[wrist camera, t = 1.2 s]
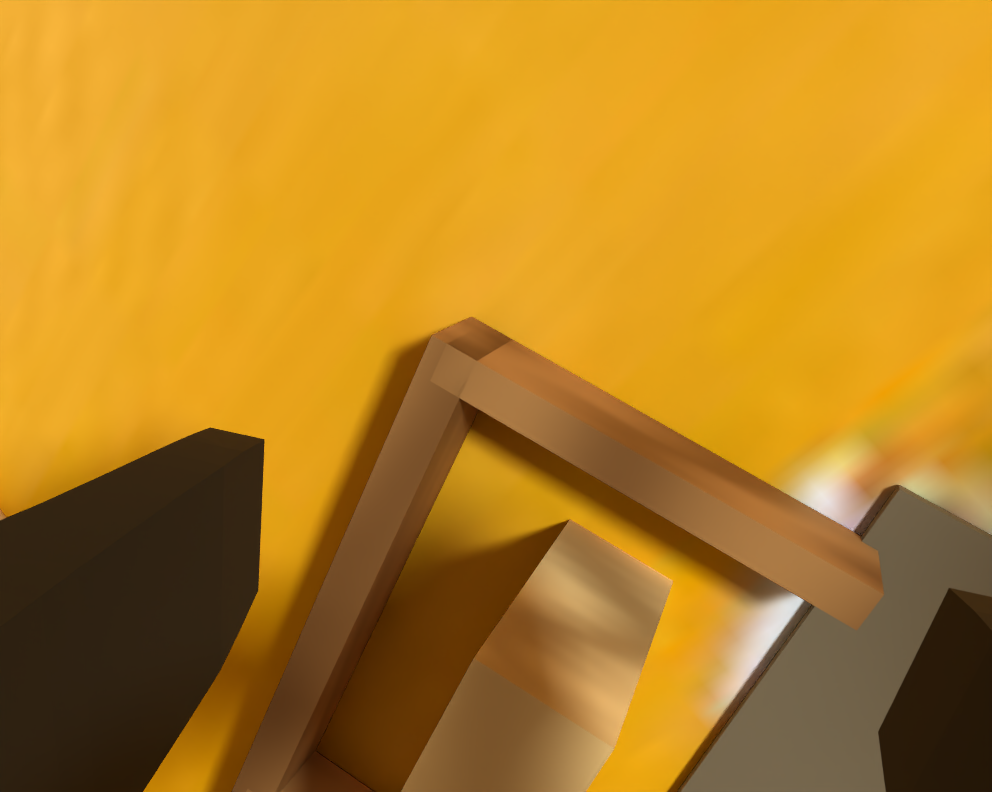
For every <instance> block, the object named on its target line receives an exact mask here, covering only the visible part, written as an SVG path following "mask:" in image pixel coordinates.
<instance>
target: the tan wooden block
mask: <svg viewBox="0 0 992 792" xmlns="http://www.w3.org/2000/svg"><path fill="white" fill-rule="evenodd" d="M672 583H673V581H672V580H670V579H669V578H667V577H665V576H664V575H662V574H660V573H659V572H657V571H655V570H654V569H652V568H650V567H649V566H647V565H645V564H644V563H642V562H640V561H639V560H637V559H635V558H634V557H632V556H630V555H629V554H627V553H625V552H624V551H622V550H620V549H619V548H617V547H615V546H614V545H612V544H610V543H609V542H607V541H605V540H604V539H602V538H600V537H599V536H597V535H595V534H594V533H592V532H590V531H589V530H587V529H585V528H584V527H582V526H580V525H579V524H577V523H575V522H574V521H572V520H569V521H568V523H567V524H566V526H565V527H564V529H563V530H562V532H561V533H560V534H559V536H558V537H557V539H556V540H555V542H554V543H553V545H552V546H551V547H550V549H549V550H548V552H547V553H546V555H545V556H544V558H543V559H542V560H541V562H540V563H539V565H538V566H537V568H536V569H535V570H534V572H533V573H532V575H531V576H530V578H529V579H528V581H527V582H526V583H525V585H524V586H523V588H522V589H521V591H520V592H519V594H518V595H517V596H516V598H515V599H514V601H513V602H512V604H511V605H510V607H509V608H508V609H507V611H506V612H505V614H504V615H503V617H502V618H501V619H500V621H499V622H498V624H497V625H496V627H495V628H494V630H493V631H492V632H491V634H490V635H489V637H488V638H487V640H486V641H485V643H484V644H483V645H482V647H481V648H480V650H479V651H478V653H477V654H476V655H475V657H474V658H473V660H472V662H471V664H470V666H469V668H468V669H467V671H466V673H465V675H464V677H463V679H462V680H461V682H460V684H459V686H458V688H457V690H456V691H455V693H454V695H453V697H452V699H451V701H450V702H449V704H448V706H447V708H446V710H445V712H444V713H443V715H442V717H441V719H440V721H439V723H438V724H437V726H436V728H435V730H434V732H433V734H432V735H431V737H430V739H429V741H428V743H427V745H426V746H425V748H424V750H423V752H422V754H421V756H420V757H419V759H418V761H417V763H416V765H415V767H414V768H413V770H412V772H411V774H410V776H409V778H408V779H407V781H406V783H405V785H404V787H403V788H402V790H401V792H586V790H587V789H588V787H589V786H590V784H591V783H592V781H593V780H594V778H595V777H596V775H597V774H598V772H599V771H600V769H601V768H602V766H603V765H604V763H605V762H606V760H607V759H608V757H609V756H610V754H611V753H612V751H613V750H614V748H615V745H616V742H617V739H618V737H619V734H620V731H621V728H622V725H623V722H624V719H625V717H626V714H627V711H628V708H629V705H630V702H631V700H632V697H633V694H634V691H635V688H636V685H637V683H638V680H639V677H640V674H641V671H642V668H643V666H644V663H645V660H646V657H647V654H648V651H649V648H650V646H651V643H652V640H653V637H654V634H655V631H656V629H657V626H658V623H659V620H660V617H661V614H662V612H663V609H664V606H665V603H666V600H667V597H668V595H669V592H670V589H671V586H672Z"/></svg>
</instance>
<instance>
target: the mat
mask: <svg viewBox="0 0 992 792" xmlns="http://www.w3.org/2000/svg"><path fill="white" fill-rule="evenodd" d="M861 539H862V542H863V543H865V544H867V545H869V546H870V547H872V548H874V549H876V550H878V554H879V561H880V568H881V576H882V583H883V590H884V595H883V597H882V598H881V599H880V601H879V602H878V603H877V605H876V606H875V607H874V609H873V610H872V611H871V613H870V614H869V615H868V617H867V618H866V619H865V621H864V622H863V623H862V624H861V626H860V627H859V628H858V630H855V629H853V628H851V627H850V626H848V625H846V624H845V623H843V622H841V621H839V620H838V619H836V618H834V617H833V616H831V615H829V614H828V613H826V612H824V611H822V610H821V609H819V608H817V607H816V606H814V605H811V607H810V608H809V610H808V611H807V612H806V614H805V615H804V616H803V618H802V619H801V621H800V622H799V623H798V625H797V626H796V628H795V629H794V630H793V632H792V633H791V634H790V636H789V637H788V639H787V640H786V641H785V643H784V644H783V646H782V647H781V648H780V650H779V651H778V652H777V654H776V655H775V657H774V658H773V659H772V661H771V662H770V664H769V665H768V666H767V668H766V669H765V670H764V672H763V673H762V675H761V676H760V677H759V679H758V680H757V682H756V683H755V684H754V686H753V687H752V689H751V690H750V691H749V693H748V694H747V695H746V697H745V698H744V700H743V701H742V702H741V704H740V705H739V707H738V708H737V709H736V711H735V712H734V713H733V715H732V716H731V718H730V719H729V720H728V722H727V723H726V725H725V726H724V727H723V729H722V730H721V731H720V733H719V734H718V736H717V737H716V738H715V740H714V741H713V743H712V744H711V745H710V747H709V748H708V749H707V751H706V752H705V754H704V755H703V756H702V758H701V759H700V761H699V762H698V763H697V765H696V766H695V767H694V769H693V770H692V772H691V773H690V774H689V776H688V777H687V779H686V780H685V781H684V783H683V784H682V786H681V787H680V788H679V790H678V791H677V792H886V789H885V783H884V775H883V767H882V759H881V751H880V744H879V736H878V731H879V729H880V727H881V725H882V723H883V721H884V719H885V717H886V715H887V713H888V710H889V708H890V706H891V704H892V702H893V700H894V698H895V696H896V694H897V692H898V690H899V688H900V686H901V684H902V682H903V680H904V678H905V676H906V674H907V672H908V670H909V668H910V666H911V664H912V662H913V660H914V658H915V656H916V654H917V652H918V650H919V648H920V646H921V644H922V642H923V639H924V637H925V635H926V633H927V631H928V629H929V627H930V625H931V623H932V621H933V619H934V617H935V615H936V613H937V611H938V609H939V607H940V605H941V603H942V601H943V599H944V597H945V595H946V593H947V591H948V589H949V588H953V589H957V590H962V591H967V592H971V593H976V594H980V595H985V596H990V597H992V535H990V534H988V533H986V532H984V531H982V530H981V529H979V528H977V527H975V526H973V525H972V524H970V523H968V522H966V521H964V520H962V519H961V518H959V517H957V516H955V515H953V514H951V513H950V512H948V511H946V510H944V509H942V508H941V507H939V506H937V505H935V504H933V503H931V502H930V501H928V500H926V499H924V498H922V497H920V496H919V495H917V494H915V493H913V492H911V491H910V490H908V489H906V488H904V487H902V486H900V485H898V486H897V488H896V489H895V490H894V492H893V493H892V494H891V496H890V497H889V499H888V500H887V501H886V503H885V504H884V506H883V507H882V508H881V510H880V511H879V512H878V514H877V515H876V517H875V518H874V519H873V521H872V522H871V524H870V525H869V526H868V528H867V529H866V531H865V532H864V533H863V535H862V536H861Z"/></svg>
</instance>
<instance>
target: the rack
mask: <svg viewBox="0 0 992 792" xmlns="http://www.w3.org/2000/svg"><path fill="white" fill-rule="evenodd" d="M479 410H481V411H482V412H484V413H486V414H487V415H489V416H491V417H493V418H494V419H496V420H498V421H499V422H501V423H503V424H505V425H506V426H508V427H510V428H511V429H513V430H515V431H517V432H518V433H520V434H522V435H523V436H525V437H527V438H528V439H530V440H532V441H534V442H535V443H537V444H539V445H540V446H542V447H544V448H546V449H547V450H549V451H551V452H552V453H554V454H556V455H558V456H559V457H561V458H563V459H564V460H566V461H568V462H569V463H571V464H573V465H575V466H576V467H578V468H580V469H581V470H583V471H585V472H587V473H588V474H590V475H592V476H593V477H595V478H597V479H599V480H600V481H602V482H604V483H605V484H607V485H609V486H610V487H612V488H614V489H616V490H617V491H619V492H621V493H622V494H624V495H626V496H628V497H629V498H631V499H633V500H634V501H636V502H638V503H640V504H641V505H643V506H645V507H646V508H648V509H650V510H652V511H653V512H655V513H657V514H658V515H660V516H662V517H663V518H665V519H667V520H669V521H670V522H672V523H674V524H675V525H677V526H679V527H681V528H682V529H684V530H686V531H687V532H689V533H691V534H693V535H694V536H696V537H698V538H699V539H701V540H703V541H704V542H706V543H708V544H710V545H711V546H713V547H715V548H716V549H718V550H720V551H722V552H723V553H725V554H727V555H728V556H730V557H732V558H734V559H735V560H737V561H739V562H740V563H742V564H744V565H745V566H747V567H749V568H751V569H752V570H754V571H756V572H757V573H759V574H761V575H763V576H764V577H766V578H768V579H769V580H771V581H773V582H775V583H776V584H778V585H780V586H781V587H783V588H785V589H786V590H788V591H790V592H792V593H793V594H795V595H797V596H798V597H800V598H802V599H804V600H805V601H807V602H809V603H810V604H812V605H814V606H816V607H817V608H819V609H821V610H822V611H824V612H826V613H828V614H829V615H831V616H833V617H834V618H836V619H838V620H839V621H841V622H843V623H845V624H846V625H848V626H850V627H851V628H853V629H855V630H858V628H859V627H860V626H861V624H862V623H863V622H864V621H865V619H866V618H867V617H868V615H869V614H870V613H871V611H872V610H873V609H874V607H875V606H876V605H877V603H878V602H879V601H880V599H881V598H882V597H883V595H884V590H883V583H882V576H881V568H880V561H879V554H878V550H876V549H874V548H872V547H870V546H869V545H867V544H865V543H863V542H862V539H861V536H860V535H858V534H856V533H854V532H853V531H851V530H849V529H847V528H845V527H844V526H842V525H840V524H838V523H837V522H835V521H833V520H831V519H829V518H828V517H826V516H824V515H822V514H821V513H819V512H817V511H815V510H814V509H812V508H810V507H808V506H806V505H805V504H803V503H801V502H799V501H798V500H796V499H794V498H792V497H790V496H789V495H787V494H785V493H783V492H782V491H780V490H778V489H776V488H775V487H773V486H771V485H769V484H767V483H766V482H764V481H762V480H760V479H759V478H757V477H755V476H753V475H751V474H750V473H748V472H746V471H744V470H743V469H741V468H739V467H737V466H736V465H734V464H732V463H730V462H728V461H727V460H725V459H723V458H721V457H720V456H718V455H716V454H714V453H712V452H711V451H709V450H707V449H705V448H704V447H702V446H700V445H698V444H697V443H695V442H693V441H691V440H689V439H688V438H686V437H684V436H682V435H681V434H679V433H677V432H675V431H673V430H672V429H670V428H668V427H666V426H665V425H663V424H661V423H659V422H658V421H656V420H654V419H652V418H650V417H649V416H647V415H645V414H643V413H642V412H640V411H638V410H636V409H634V408H633V407H631V406H629V405H627V404H626V403H624V402H622V401H620V400H619V399H617V398H615V397H613V396H611V395H610V394H608V393H606V392H604V391H603V390H601V389H599V388H597V387H595V386H594V385H592V384H590V383H588V382H587V381H585V380H583V379H581V378H580V377H578V376H576V375H574V374H572V373H571V372H569V371H567V370H565V369H564V368H562V367H560V366H558V365H557V364H555V363H553V362H551V361H549V360H548V359H546V358H544V357H542V356H541V355H539V354H537V353H535V352H533V351H532V350H530V349H528V348H526V347H525V346H523V345H521V344H519V343H518V342H516V341H514V340H512V339H510V338H509V337H507V336H505V335H503V334H502V333H500V332H498V331H496V330H494V329H493V328H491V327H489V326H487V325H486V324H484V323H482V322H480V321H479V320H477V319H475V318H473V317H470V318H468V319H466V320H463V321H461V322H459V323H457V324H455V325H453V326H451V327H448V328H446V329H444V330H442V331H440V332H438V333H435V334H433V335H432V336H431V338H430V341H429V343H428V345H427V348H426V350H425V352H424V354H423V357H422V359H421V361H420V363H419V366H418V368H417V370H416V373H415V375H414V377H413V379H412V382H411V384H410V386H409V389H408V391H407V393H406V395H405V398H404V400H403V402H402V404H401V407H400V409H399V411H398V414H397V416H396V418H395V420H394V423H393V425H392V427H391V430H390V432H389V434H388V436H387V439H386V441H385V443H384V446H383V448H382V450H381V452H380V455H379V457H378V459H377V461H376V464H375V466H374V468H373V471H372V473H371V475H370V477H369V480H368V482H367V484H366V487H365V489H364V491H363V493H362V496H361V498H360V500H359V503H358V505H357V507H356V509H355V512H354V514H353V516H352V518H351V521H350V523H349V525H348V528H347V530H346V532H345V534H344V537H343V539H342V541H341V544H340V546H339V548H338V550H337V553H336V555H335V557H334V559H333V562H332V564H331V566H330V569H329V571H328V573H327V575H326V578H325V580H324V582H323V585H322V587H321V589H320V591H319V594H318V596H317V598H316V601H315V603H314V605H313V607H312V610H311V612H310V614H309V616H308V619H307V621H306V623H305V626H304V628H303V630H302V632H301V635H300V637H299V639H298V642H297V644H296V646H295V648H294V651H293V653H292V655H291V658H290V660H289V662H288V664H287V667H286V669H285V671H284V673H283V676H282V678H281V680H280V683H279V685H278V687H277V689H276V692H275V694H274V696H273V699H272V701H271V703H270V705H269V708H268V710H267V712H266V714H265V717H264V719H263V721H262V724H261V726H260V728H259V730H258V733H257V735H256V737H255V740H254V742H253V744H252V746H251V749H250V751H249V753H248V756H247V758H246V760H245V762H244V765H243V767H242V769H241V771H240V774H239V776H238V778H237V781H236V783H235V785H234V787H233V790H232V792H374V791H372V790H371V789H369V788H368V787H366V786H365V785H364V784H362V783H361V782H359V781H358V780H356V779H355V778H353V777H352V776H351V775H349V774H348V773H346V772H345V771H343V770H342V769H340V768H339V767H338V766H336V765H335V764H333V763H332V762H330V761H329V760H327V759H326V758H325V757H323V756H322V755H320V754H319V753H317V752H316V751H315V750H316V748H317V746H318V744H319V742H320V740H321V738H322V736H323V734H324V732H325V730H326V728H327V725H328V723H329V721H330V719H331V717H332V715H333V713H334V711H335V709H336V707H337V705H338V703H339V700H340V698H341V696H342V694H343V692H344V690H345V688H346V686H347V684H348V682H349V680H350V677H351V675H352V673H353V671H354V669H355V667H356V665H357V663H358V661H359V659H360V657H361V655H362V652H363V650H364V648H365V646H366V644H367V642H368V640H369V638H370V636H371V634H372V632H373V630H374V627H375V625H376V623H377V621H378V619H379V617H380V615H381V613H382V611H383V609H384V607H385V604H386V602H387V600H388V598H389V596H390V594H391V592H392V590H393V588H394V586H395V584H396V582H397V579H398V577H399V575H400V573H401V571H402V569H403V567H404V565H405V563H406V561H407V559H408V557H409V554H410V552H411V550H412V548H413V546H414V544H415V542H416V540H417V538H418V536H419V534H420V531H421V529H422V527H423V525H424V523H425V521H426V519H427V517H428V515H429V513H430V511H431V509H432V506H433V504H434V502H435V500H436V498H437V496H438V494H439V492H440V490H441V488H442V486H443V484H444V481H445V479H446V477H447V475H448V473H449V471H450V469H451V467H452V465H453V463H454V461H455V458H456V456H457V454H458V452H459V450H460V448H461V446H462V444H463V442H464V440H465V438H466V436H467V433H468V431H469V429H470V427H471V425H472V423H473V421H474V419H475V417H476V415H477V413H478V411H479Z"/></svg>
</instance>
